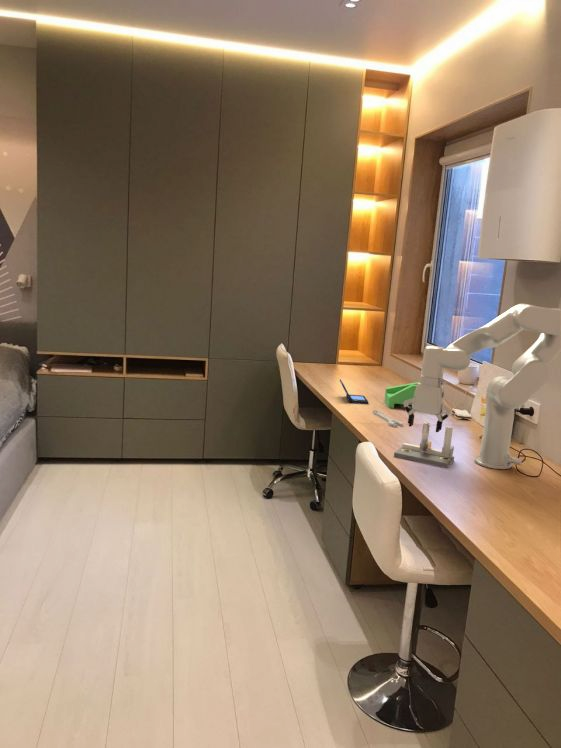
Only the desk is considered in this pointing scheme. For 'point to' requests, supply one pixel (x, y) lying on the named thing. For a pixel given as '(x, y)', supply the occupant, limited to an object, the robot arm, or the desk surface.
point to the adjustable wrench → (388, 419)
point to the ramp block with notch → (400, 394)
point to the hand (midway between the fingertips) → (424, 428)
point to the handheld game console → (355, 397)
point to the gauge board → (423, 458)
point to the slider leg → (425, 438)
